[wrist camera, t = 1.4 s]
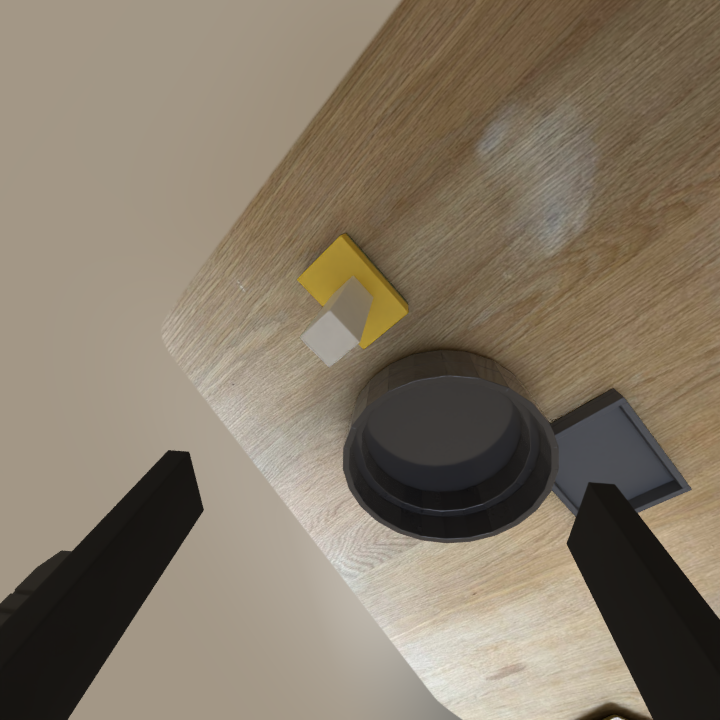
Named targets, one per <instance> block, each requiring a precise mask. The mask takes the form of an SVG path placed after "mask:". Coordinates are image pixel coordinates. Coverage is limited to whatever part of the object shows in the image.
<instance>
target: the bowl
mask: <svg viewBox="0 0 720 720" xmlns="http://www.w3.org/2000/svg"><path fill="white" fill-rule="evenodd" d="M558 469H559V447H558V443H557V440H556V438H555V435H554V432H553V430H552V427H551V425H550V423H549V421H548V420H547V418H546V417H545V415H544V414H543V413H542V411H541V410H540V408H539V407H538V405H537V404H536V402H535V401H534V400H533V398H532V397H531V395H530V394H529V392H528V391H527V390H526V388H525V387H524V386H523V385H522V384H521V382H520V381H519V380H518V379H517V378H516V376H515V375H513V373H511V372H510V371H508V370H507V369H505V368H504V367H502V366H501V365H499V364H498V363H496V362H495V361H492V360H490V359H487V358H484V357H481V356H478V355H475V354H472V353H469V352H464V351H450V350H436V351H430V352H424V353H418V354H413V355H410V356H408V357H406V358H403V359H401V360H399V361H396V362H394V363H392V364H390V365H389V366H387V367H386V368H385V369H383V370H382V371H381V372H379V373H378V374H377V375H376V376H374V377H373V378H372V379H371V380H370V381H369V382H368V384H367V385H366V386H365V388H364V389H363V390H362V392H361V393H360V394H359V396H358V397H357V400H356V403H355V406H354V409H353V412H352V414H351V418H350V422H349V426H348V431H347V435H346V439H345V443H344V448H343V471H344V474H345V477H346V480H347V484H348V487H349V489H350V491H351V493H352V494H353V496H354V497H355V499H356V500H357V502H358V503H359V505H360V506H361V507H362V508H363V509H364V510H365V511H366V512H367V513H369V514H370V515H371V516H372V517H373V518H374V519H375V520H376V521H378V522H379V523H381V524H383V525H385V526H387V527H388V528H390V529H392V530H394V531H396V532H397V533H400V534H403V535H406V536H410V537H413V538H416V539H419V540H424V541H433V542H441V543H457V542H471V541H475V540H479V539H484V538H488V537H492V536H495V535H498V534H500V533H502V532H504V531H506V530H508V529H510V528H512V527H515V526H517V525H518V524H520V523H521V522H522V521H524V520H525V519H526V518H527V517H529V516H530V515H531V514H532V513H534V512H535V511H536V510H537V509H538V508H539V507H540V505H541V504H542V503H543V501H544V500H545V499H546V497H547V496H548V495H549V493H550V492H551V490H552V487H553V484H554V482H555V479H556V476H557V473H558Z"/></svg>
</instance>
